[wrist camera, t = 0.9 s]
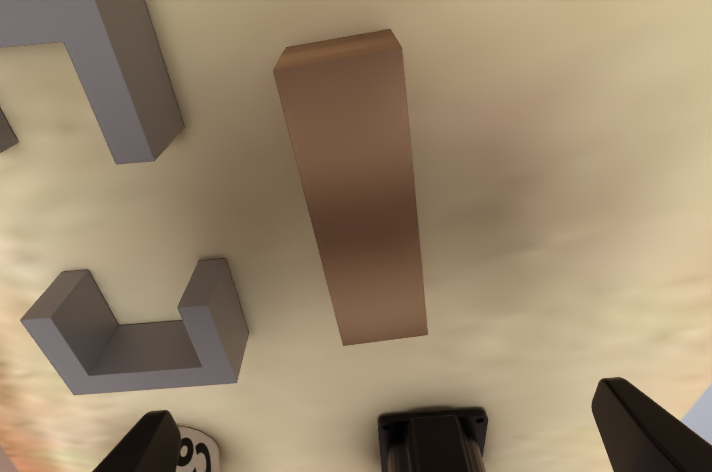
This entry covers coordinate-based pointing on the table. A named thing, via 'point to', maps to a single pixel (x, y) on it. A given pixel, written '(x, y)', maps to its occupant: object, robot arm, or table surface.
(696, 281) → the table surface
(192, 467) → the cup
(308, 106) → the slat
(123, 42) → the end cap
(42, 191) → the table surface
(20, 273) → the table surface
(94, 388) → the end cap
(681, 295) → the table surface
